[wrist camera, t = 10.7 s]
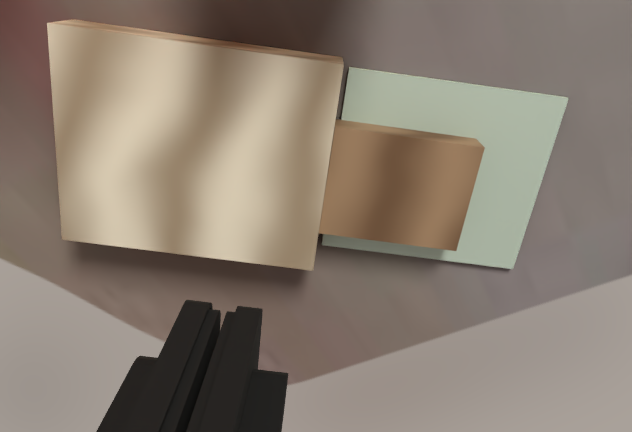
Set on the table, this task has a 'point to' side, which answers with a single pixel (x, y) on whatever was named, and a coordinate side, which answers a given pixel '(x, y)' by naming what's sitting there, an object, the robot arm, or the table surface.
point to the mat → (497, 161)
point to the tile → (399, 185)
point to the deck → (191, 142)
